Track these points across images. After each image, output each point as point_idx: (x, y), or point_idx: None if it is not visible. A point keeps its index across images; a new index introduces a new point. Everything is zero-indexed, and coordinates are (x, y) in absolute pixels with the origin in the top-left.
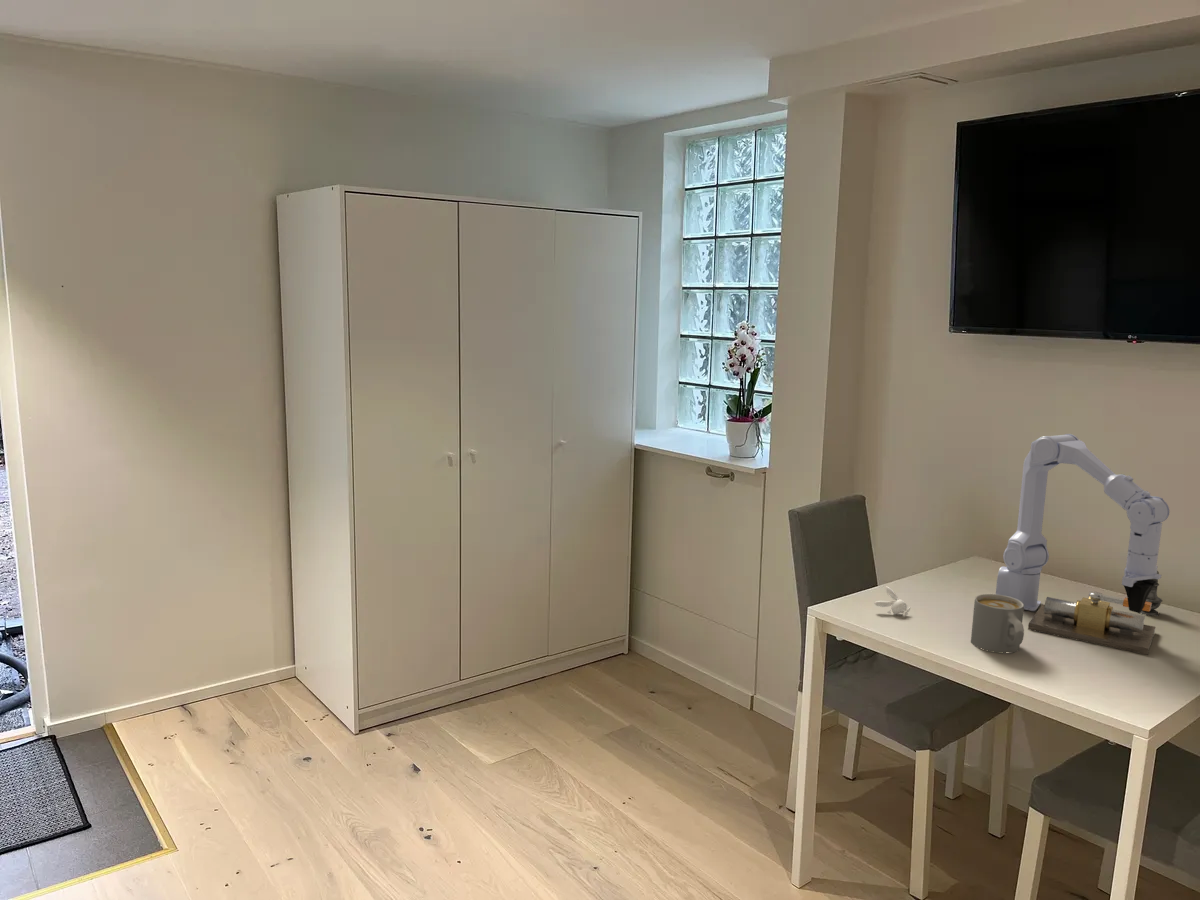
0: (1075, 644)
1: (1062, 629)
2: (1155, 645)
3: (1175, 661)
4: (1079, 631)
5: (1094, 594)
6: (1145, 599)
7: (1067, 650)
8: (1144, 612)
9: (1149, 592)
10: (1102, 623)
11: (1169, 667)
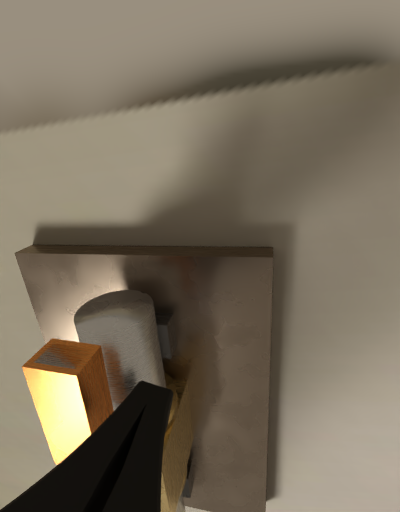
0: (313, 424)
1: (259, 468)
2: (146, 232)
3: (279, 146)
4: (244, 435)
5: None
6: (105, 454)
7: (388, 443)
8: None
9: (32, 501)
10: (180, 408)
11: (379, 157)
